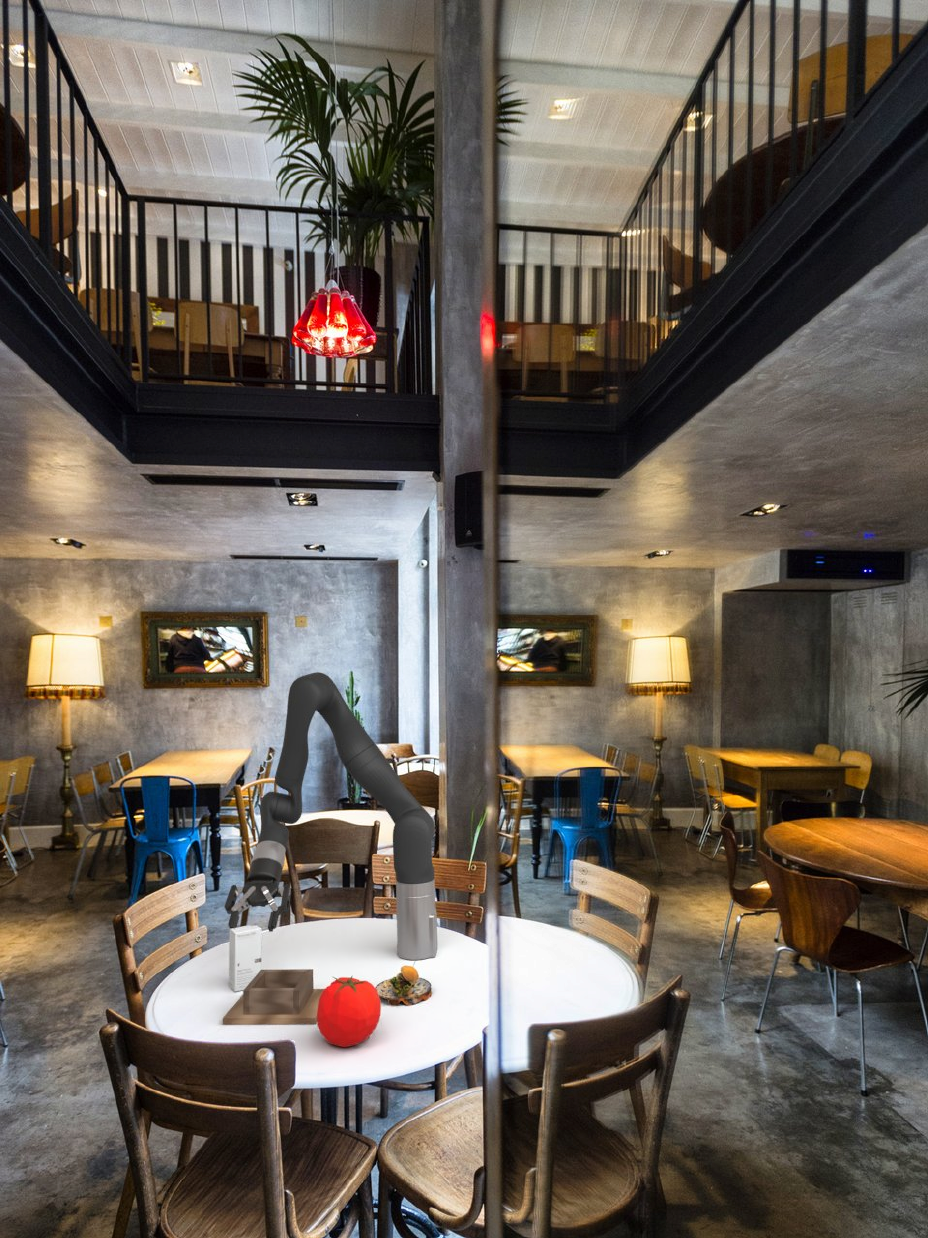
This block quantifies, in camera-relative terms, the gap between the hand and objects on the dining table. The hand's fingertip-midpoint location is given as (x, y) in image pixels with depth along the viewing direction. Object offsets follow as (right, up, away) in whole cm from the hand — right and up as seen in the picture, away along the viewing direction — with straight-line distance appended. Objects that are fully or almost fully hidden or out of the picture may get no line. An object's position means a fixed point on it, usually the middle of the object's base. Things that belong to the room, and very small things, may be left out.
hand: (251, 930), depth 174 cm
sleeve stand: (+11, -9, -18) cm, 22 cm away
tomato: (+27, -7, -33) cm, 43 cm away
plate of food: (+35, -9, -12) cm, 38 cm away
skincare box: (0, -10, -5) cm, 11 cm away
